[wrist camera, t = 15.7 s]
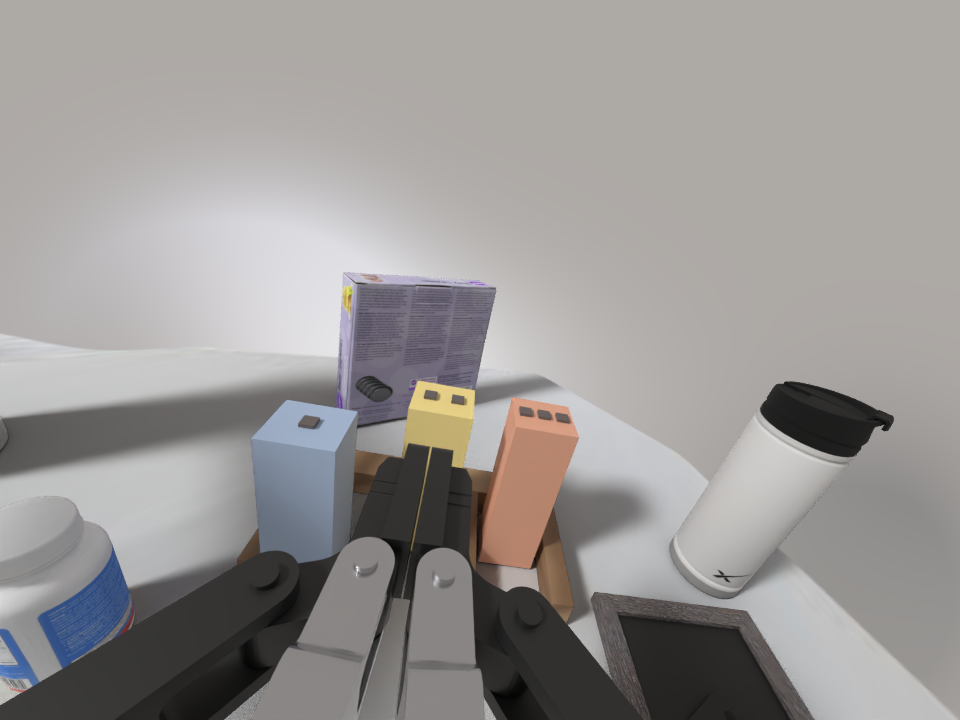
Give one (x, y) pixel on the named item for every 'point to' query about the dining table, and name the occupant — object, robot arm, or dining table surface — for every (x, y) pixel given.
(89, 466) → the dining table surface
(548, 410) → the peach rectangular block
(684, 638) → the picture frame
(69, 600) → the pill bottle
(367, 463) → the dock
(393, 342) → the cake pan box
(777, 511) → the travel mug
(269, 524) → the blue block
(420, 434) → the yellow block
